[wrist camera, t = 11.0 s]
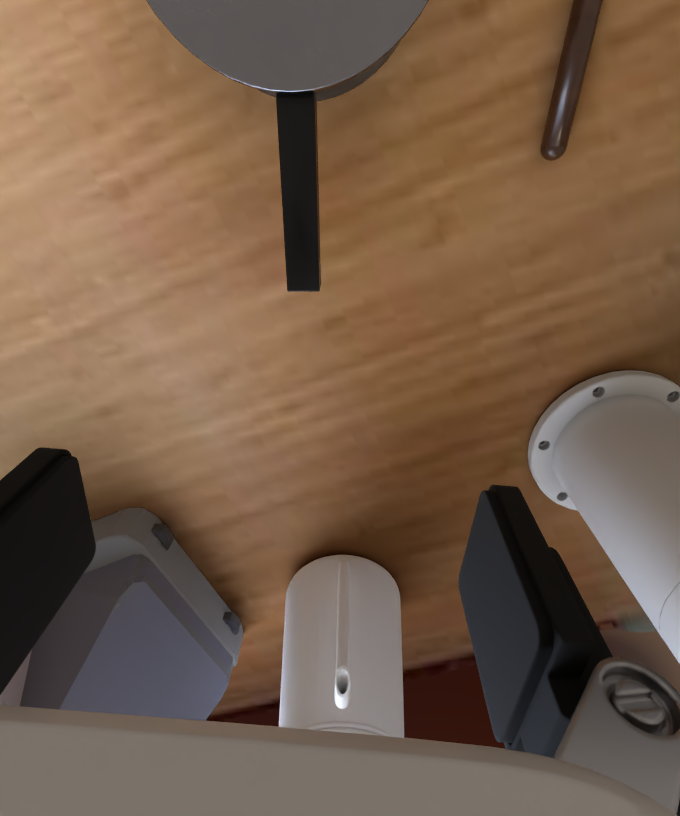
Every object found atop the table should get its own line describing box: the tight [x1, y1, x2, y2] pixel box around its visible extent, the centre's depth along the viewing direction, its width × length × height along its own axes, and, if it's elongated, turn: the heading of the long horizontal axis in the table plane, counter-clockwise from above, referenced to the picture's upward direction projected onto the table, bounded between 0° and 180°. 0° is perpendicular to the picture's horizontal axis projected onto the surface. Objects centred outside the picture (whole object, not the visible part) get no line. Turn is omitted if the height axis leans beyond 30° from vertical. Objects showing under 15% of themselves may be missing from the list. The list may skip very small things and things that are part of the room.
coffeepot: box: [279, 555, 404, 738], centre depth 37 cm, size 11×25×19 cm, turn 179°
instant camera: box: [0, 508, 243, 721], centre depth 40 cm, size 21×21×15 cm
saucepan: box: [146, 0, 428, 291], centre depth 22 cm, size 14×23×9 cm, turn 0°
